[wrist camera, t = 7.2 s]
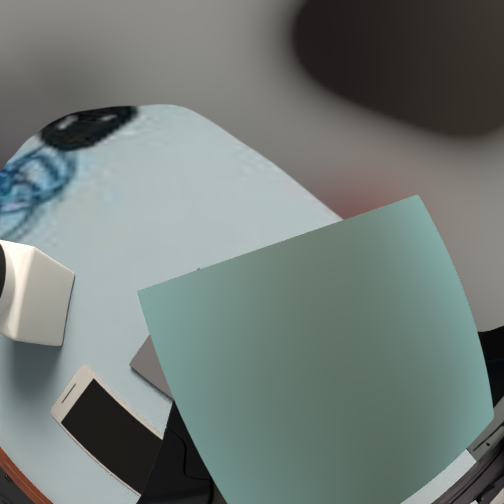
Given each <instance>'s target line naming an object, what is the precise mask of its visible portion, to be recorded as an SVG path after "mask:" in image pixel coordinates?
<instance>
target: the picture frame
mask: <svg viewBox="0 0 504 504" xmlns="http://www.w3.org/2000/svg"><path fill="white" fill-rule="evenodd" d="M0 504H53V503H52V502H51V501H50V500H49V499H47V498H46V497H45V496H44V495H43V494H42V493H41V492H40V491H39V490H38V489H37V488H36V487H35V486H34V485H33V484H32V483H31V482H30V481H29V480H28V479H27V478H26V477H25V476H24V475H23V473H22V472H21V471H20V470H19V469H18V468H17V467H16V466H15V464H14V463H13V462H12V461H11V460H10V459H9V457H8V456H7V455H6V454H5V452H4V451H3V450H2V449H1V447H0Z"/></svg>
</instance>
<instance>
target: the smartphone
mask: <svg viewBox="0 0 504 504" xmlns="http://www.w3.org/2000/svg"><path fill="white" fill-rule="evenodd" d="M50 412H51V414H52V416H53V417H54V418H55V420H56V421H57V422H58V423H59V424H60V425H61V426H62V428H63V429H64V430H65V431H66V432H67V433H68V434H69V435H70V436H71V437H72V438H73V439H74V440H75V441H76V442H77V443H78V444H79V445H80V446H81V447H82V448H83V449H84V450H85V451H86V452H87V453H88V454H89V455H90V456H91V457H92V458H93V459H94V460H96V461H97V462H98V463H99V464H100V465H101V466H102V467H103V468H105V469H106V470H107V471H108V472H109V473H111V474H112V475H113V476H114V477H115V478H117V479H118V480H119V481H120V482H122V483H123V484H124V485H126V486H127V487H128V488H130V489H131V490H132V491H134V492H135V493H136V494H138V495H139V496H141V495H142V492H143V490H144V487H145V485H146V482H147V480H148V478H149V475H150V473H151V470H152V468H153V465H154V463H155V460H156V457H157V455H158V452H159V449H160V446H161V443H162V439H163V436H164V435H163V434H161V433H160V432H159V431H157V430H156V429H155V428H154V427H152V426H151V425H150V424H149V423H148V422H146V421H145V420H144V419H143V418H142V417H140V416H139V415H138V414H137V413H136V412H135V411H134V410H132V409H131V408H130V407H129V406H128V405H127V404H126V403H125V402H124V401H123V400H121V399H120V398H119V397H118V396H117V395H116V394H115V393H114V392H113V391H112V390H111V389H110V388H109V387H108V386H107V385H106V384H105V383H104V382H103V381H102V380H101V379H100V378H99V377H98V376H97V375H96V374H95V373H94V372H93V370H92V369H91V368H90V367H88V366H87V365H82V366H81V367H80V369H79V370H78V371H77V373H76V374H75V376H74V377H73V378H72V380H71V381H70V382H69V384H68V385H67V387H66V388H65V390H64V391H63V392H62V394H61V395H60V397H59V398H58V399H57V401H56V402H55V404H54V405H53V407H52V408H51V410H50Z"/></svg>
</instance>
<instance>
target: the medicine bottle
mask: <svg viewBox="0 0 504 504" xmlns="http://www.w3.org/2000/svg"><path fill="white" fill-rule="evenodd" d="M74 276H75V274H74V272H73V271H71V270H69V269H68V268H66V267H65V266H63V265H61V264H60V263H58V262H57V261H55V260H54V259H52V258H50V257H49V256H47V255H46V254H44V253H43V252H41V251H40V250H38V249H37V248H35V247H34V246H28V245H23V244H18V243H13V242H8V241H3V240H0V334H2V335H4V336H6V337H8V338H10V339H12V340H15V341H21V342H28V343H35V344H43V345H52V346H61V345H62V342H63V334H64V328H65V321H66V315H67V310H68V304H69V299H70V294H71V289H72V285H73V280H74Z"/></svg>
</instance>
